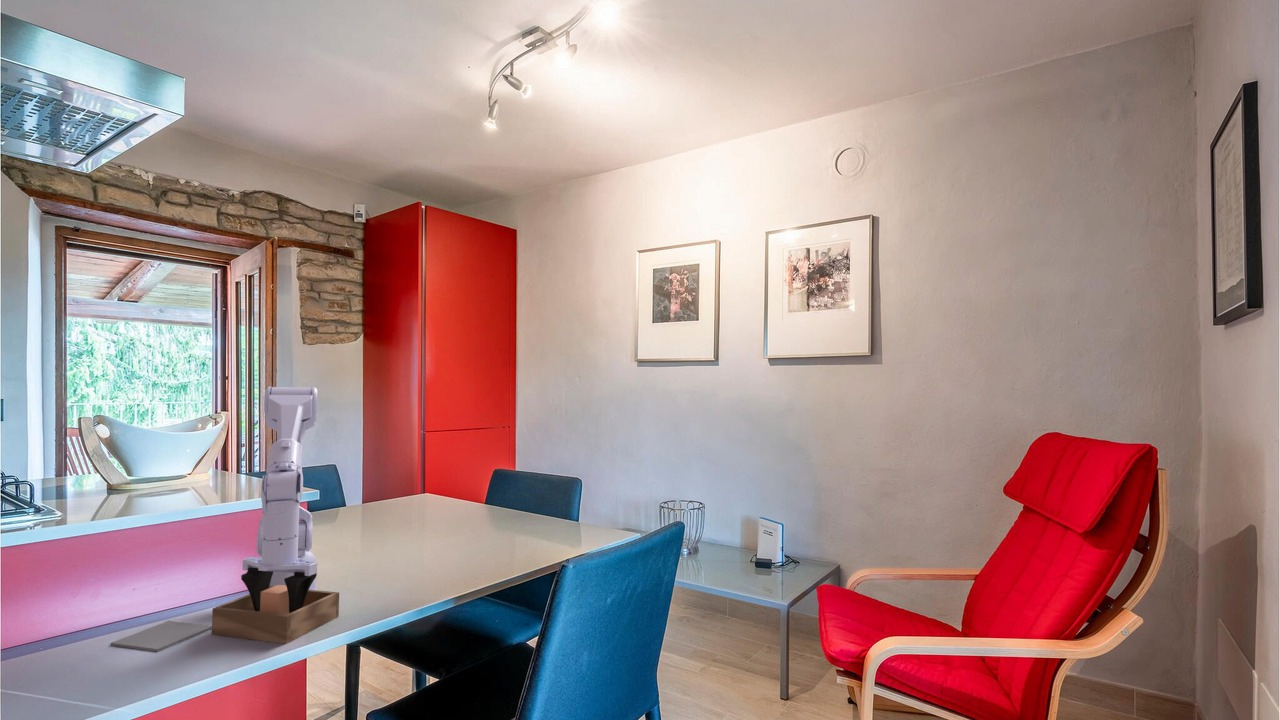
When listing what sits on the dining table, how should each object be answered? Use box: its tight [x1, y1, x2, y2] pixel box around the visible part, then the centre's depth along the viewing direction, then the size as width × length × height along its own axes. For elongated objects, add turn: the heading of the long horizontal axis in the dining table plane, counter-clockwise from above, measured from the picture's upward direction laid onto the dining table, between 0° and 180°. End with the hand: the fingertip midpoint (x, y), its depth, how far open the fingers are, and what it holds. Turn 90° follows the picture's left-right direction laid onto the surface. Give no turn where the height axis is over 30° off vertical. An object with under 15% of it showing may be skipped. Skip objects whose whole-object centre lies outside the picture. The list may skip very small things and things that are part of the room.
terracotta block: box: [260, 585, 290, 615], centre depth 111 cm, size 4×4×5 cm
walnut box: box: [211, 586, 340, 644], centre depth 111 cm, size 13×16×4 cm
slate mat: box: [110, 620, 212, 653], centre depth 106 cm, size 10×10×1 cm
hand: (278, 611), depth 111 cm, fingers open, 7 cm apart
